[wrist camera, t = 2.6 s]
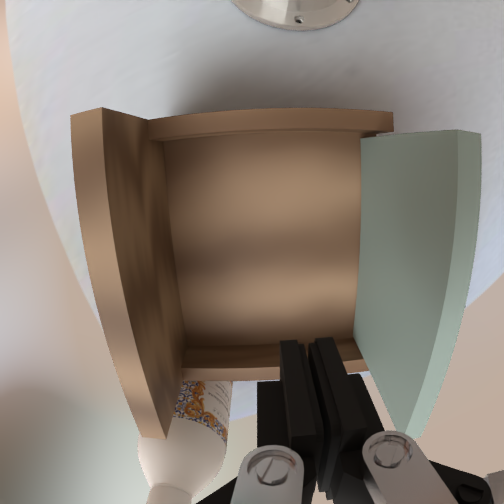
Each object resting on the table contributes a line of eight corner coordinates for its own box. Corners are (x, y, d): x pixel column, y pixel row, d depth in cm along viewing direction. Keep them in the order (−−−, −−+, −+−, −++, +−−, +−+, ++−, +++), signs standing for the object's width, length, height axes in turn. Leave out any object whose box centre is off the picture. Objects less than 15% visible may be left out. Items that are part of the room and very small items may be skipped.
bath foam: (246, 373, 32) (238, 547, 13) (193, 393, 33) (158, 549, 14) (211, 325, 31) (169, 510, 11) (157, 349, 32) (89, 509, 12)
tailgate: (360, 138, 19) (457, 129, 9) (384, 139, 19) (491, 136, 8) (352, 335, 24) (401, 441, 13) (373, 333, 24) (429, 434, 13)
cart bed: (164, 132, 25) (70, 115, 11) (350, 124, 25) (445, 99, 10) (185, 322, 30) (141, 436, 16) (347, 314, 30) (401, 424, 16)
